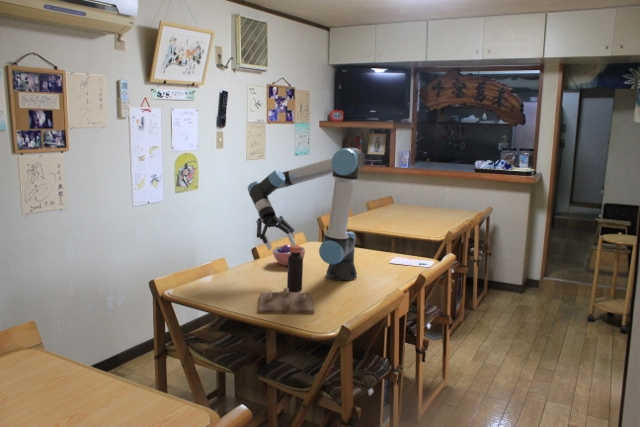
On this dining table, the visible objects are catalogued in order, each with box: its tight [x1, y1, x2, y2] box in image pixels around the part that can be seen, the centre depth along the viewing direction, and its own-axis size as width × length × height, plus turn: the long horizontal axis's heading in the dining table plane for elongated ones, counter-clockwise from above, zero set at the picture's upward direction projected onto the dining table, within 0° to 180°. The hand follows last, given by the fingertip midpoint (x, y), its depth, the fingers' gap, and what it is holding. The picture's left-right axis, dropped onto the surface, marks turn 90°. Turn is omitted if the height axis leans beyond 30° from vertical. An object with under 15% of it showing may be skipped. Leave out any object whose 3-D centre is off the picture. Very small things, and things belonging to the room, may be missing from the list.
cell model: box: [271, 244, 306, 267], centre depth 287 cm, size 17×20×11 cm
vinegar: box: [286, 245, 304, 293], centre depth 243 cm, size 7×7×20 cm
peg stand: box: [258, 287, 315, 315], centre depth 224 cm, size 22×22×4 cm
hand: (282, 247), depth 249 cm, fingers open, 13 cm apart
